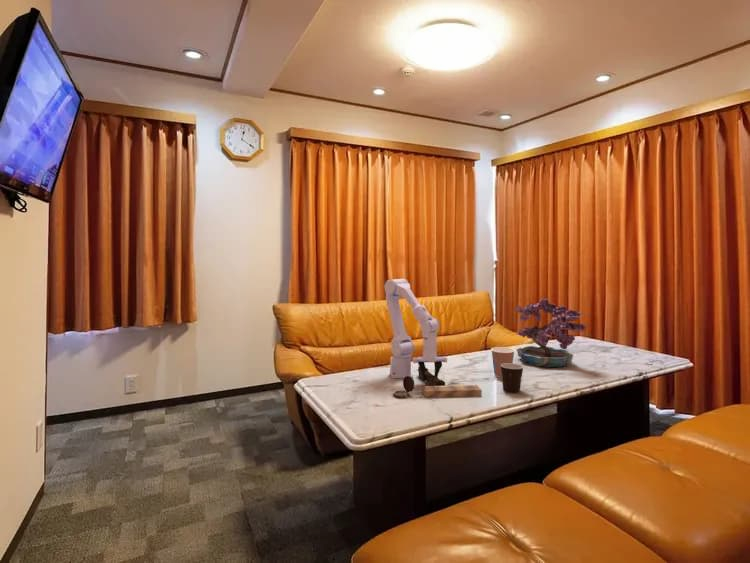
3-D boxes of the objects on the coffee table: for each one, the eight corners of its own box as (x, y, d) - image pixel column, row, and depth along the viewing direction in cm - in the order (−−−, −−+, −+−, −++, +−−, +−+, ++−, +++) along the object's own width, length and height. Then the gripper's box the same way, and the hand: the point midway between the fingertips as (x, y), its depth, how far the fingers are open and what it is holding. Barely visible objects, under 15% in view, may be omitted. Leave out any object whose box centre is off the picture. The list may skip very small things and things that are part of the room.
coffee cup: (491, 371, 193) (491, 346, 192) (514, 373, 189) (515, 347, 188) (489, 377, 183) (490, 351, 182) (514, 380, 180) (514, 352, 179)
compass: (389, 395, 161) (389, 377, 160) (405, 391, 165) (405, 373, 165) (402, 401, 154) (402, 382, 154) (418, 397, 159) (418, 378, 158)
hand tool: (445, 391, 165) (445, 378, 165) (434, 392, 164) (434, 378, 164) (426, 375, 187) (426, 363, 187) (416, 376, 186) (416, 364, 186)
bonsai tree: (504, 357, 219) (505, 296, 217) (547, 353, 226) (548, 295, 224) (548, 376, 185) (550, 304, 183) (597, 371, 193) (599, 302, 190)
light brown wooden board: (425, 397, 158) (425, 390, 158) (422, 392, 164) (422, 385, 164) (481, 396, 159) (481, 389, 159) (476, 391, 165) (476, 384, 165)
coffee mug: (507, 385, 172) (507, 362, 171) (526, 390, 166) (527, 366, 165) (491, 391, 164) (492, 367, 164) (511, 397, 158) (511, 371, 157)
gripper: (414, 350, 170) (414, 382, 171) (449, 349, 171) (448, 381, 172) (411, 346, 177) (411, 377, 178) (445, 345, 178) (444, 376, 179)
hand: (429, 379), depth 175 cm, fingers open, 4 cm apart
